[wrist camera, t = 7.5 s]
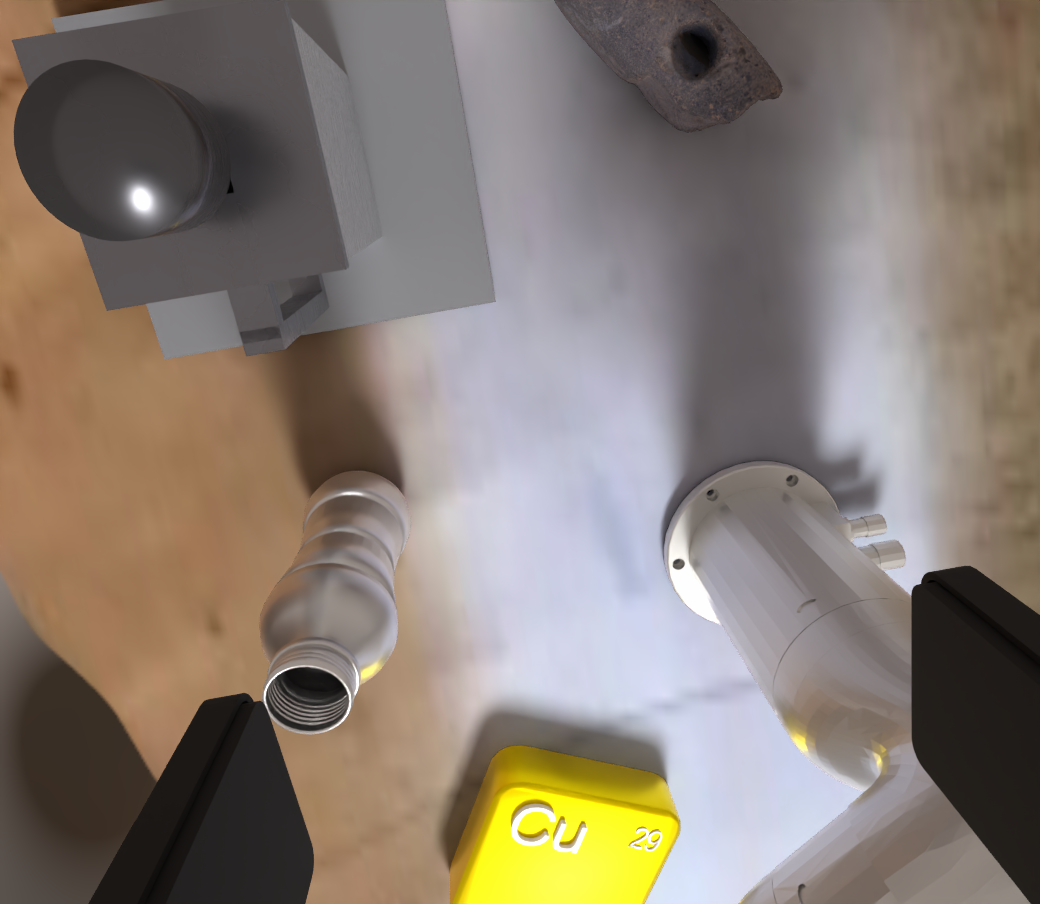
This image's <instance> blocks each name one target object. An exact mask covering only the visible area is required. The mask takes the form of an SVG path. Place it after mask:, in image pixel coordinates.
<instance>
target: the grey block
mask: <svg viewBox="0 0 1040 904" xmlns="http://www.w3.org/2000/svg"><path fill="white" fill-rule="evenodd" d="M12 42H13V45H14V48H15V51H16V54H17V57H18V60H19V62H20V65H21V68H22V71H23V74H24V77H25V79H26V82H27V85H28V88H29V86H30V85H31V84H32V83H33V81H34V80H35V79H37V78H38V77H39V76H40V75H41V74H42V73H44V72H45V71H47V70H49V69H50V68H52V67H54V66H57V65H59V64H62V63H65V62H69V61H73V60H83V59H89V60H100V61H106V62H110V63H113V64H116V65H120V66H122V67H125V68H128V69H131V70H134V71H136V72H139V73H142V74H145V75H147V76H150V77H153V78H156V79H158V80H161V81H164V82H167V83H169V84H172V85H174V86H177V87H179V88H181V89H183V90H184V91H186V92H188V93H189V94H191V95H192V96H193V97H195V98H196V99H197V100H198V101H200V102H201V103H202V104H203V105H204V106H205V107H206V108H207V109H208V111H209V112H210V113H211V114H212V116H213V117H214V118H215V120H216V121H217V123H218V125H219V126H220V128H221V130H222V132H223V134H224V136H225V139H226V142H227V145H228V149H229V153H230V160H231V181H230V183H229V188H228V191H227V194H226V196H225V198H224V201H223V203H222V204H221V206H220V207H219V209H218V210H217V211H216V212H215V213H214V215H213V216H212V217H211V218H209V219H208V220H207V221H206V222H204V223H203V224H201V225H199V226H198V227H196V228H193V229H191V230H188V231H184V232H180V233H174V234H168V235H162V236H156V237H150V238H144V239H138V240H131V241H108V240H101V239H97V238H94V237H90V236H87V235H85V234H82V233H80V232H79V233H80V236H81V238H82V241H83V244H84V247H85V250H86V253H87V256H88V258H89V261H90V264H91V267H92V270H93V273H94V275H95V278H96V281H97V284H98V287H99V290H100V292H101V295H102V298H103V301H104V304H105V307H106V309H107V311H108V310H114V309H120V308H125V307H131V306H137V305H143V304H149V303H154V302H160V301H166V300H172V299H178V298H183V297H189V296H195V295H201V294H207V293H212V292H218V291H224V290H227V292H228V296H229V299H230V302H231V306H232V309H233V313H234V316H235V319H236V323H237V326H238V330H239V333H240V337H241V340H242V343H243V347H244V350H245V354H246V356H251V355H257V354H262V353H268V352H274V351H279V350H285V349H286V348H287V347H288V346H289V345H290V344H291V343H292V342H294V341H295V340H296V339H297V338H298V337H299V336H300V335H301V334H302V333H303V332H304V331H305V330H306V329H307V328H308V327H309V326H310V325H311V324H312V323H313V322H315V321H316V320H317V319H318V318H319V317H320V316H321V315H322V314H323V313H324V312H325V311H326V310H327V309H328V308H329V307H330V306H329V302H328V298H327V294H326V290H325V286H324V282H323V278H322V274H323V273H328V272H334V271H340V270H346V269H348V268H349V267H350V266H349V262H348V259H349V258H351V257H352V256H354V255H355V254H357V253H358V252H360V251H361V250H363V249H364V248H366V247H367V246H369V245H370V244H372V243H373V242H375V241H376V240H378V239H379V238H381V237H382V231H381V226H380V222H379V217H378V212H377V208H376V203H375V198H374V194H373V189H372V185H371V180H370V175H369V171H368V166H367V161H366V157H365V152H364V148H363V143H362V138H361V134H360V129H359V124H358V120H357V115H356V110H355V106H354V101H353V97H352V92H351V87H350V83H349V78H348V76H347V74H346V73H345V72H344V71H343V70H342V69H341V68H340V67H339V66H338V65H337V64H336V63H335V62H334V61H333V60H332V59H331V58H330V57H329V56H328V55H327V54H326V53H325V52H324V51H323V50H322V49H321V48H320V47H319V46H318V45H317V44H316V43H315V41H314V40H313V39H312V38H311V37H310V36H309V35H308V34H307V33H306V32H305V31H304V30H303V29H302V28H301V27H300V26H299V25H298V24H297V23H296V22H295V21H294V20H293V19H292V18H291V14H290V10H289V6H288V2H287V0H253V1H247V2H241V3H235V4H229V5H223V6H217V7H211V8H205V9H198V10H192V11H186V12H180V13H174V14H168V15H162V16H156V17H150V18H144V19H137V20H131V21H125V22H119V23H113V24H107V25H101V26H95V27H89V28H82V29H76V30H70V31H64V32H58V33H52V34H46V35H40V36H34V37H28V38H21V39H15V40H12ZM282 280H289V284H290V288H291V292H292V295H293V297H291V298H290V299H288V300H287V301H285V302H284V303H282V304H281V305H279V302H278V298H277V294H276V290H275V287H274V283H273V282H276V281H282Z"/></svg>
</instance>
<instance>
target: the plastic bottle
mask: <svg viewBox="0 0 1040 904" xmlns="http://www.w3.org/2000/svg"><path fill="white" fill-rule="evenodd" d="M410 530H411V517H410V513H409V510H408V506H407V503H406V500H405V498H404V496H403V494H402V493H401V491H400V490H399V489H398V488H397V487H396V486H395V485H394V484H393V483H392V482H390V481H389V480H388V479H386V478H384V477H382V476H380V475H378V474H375V473H372V472H367V471H348V472H343V473H340V474H337V475H335V476H333V477H331V478H330V479H328V480H327V481H325V482H324V483H323V484H322V485H321V486H320V487H319V488H318V489H317V490H316V491H315V492H314V493H313V494H312V496H311V497H310V499H309V501H308V503H307V505H306V508H305V513H304V521H303V538H302V543H301V548H300V550H299V552H298V554H297V556H296V558H295V560H294V561H293V563H292V565H291V567H290V568H289V569H288V571H287V572H286V573H285V574H284V576H283V577H282V578H281V580H280V581H279V582H278V583H277V585H276V586H275V587H274V589H273V590H272V592H271V593H270V595H269V597H268V598H267V600H266V602H265V603H264V606H263V609H262V611H261V614H260V623H259V629H260V638H261V645H262V649H263V651H264V654H265V656H266V658H267V660H268V661H269V663H270V666H269V669H268V675H267V680H266V682H265V685H264V687H263V695H262V700H263V703H264V704H265V706H266V708H267V710H268V713H269V716H270V718H271V719H272V720H273V721H274V722H275V723H276V724H278V725H279V726H281V727H282V728H284V729H286V730H289V731H291V732H295V733H299V734H318V733H323V732H326V731H329V730H332V729H333V728H335V727H337V726H338V725H340V724H341V723H342V722H343V721H344V720H345V719H346V717H347V716H348V714H349V712H350V710H351V708H352V705H353V701H354V697H355V696H356V694H357V691H358V689H359V685H361V684H363V683H365V682H366V681H368V680H369V679H371V678H372V677H373V676H375V675H376V674H377V673H378V672H379V671H380V670H381V668H382V667H383V665H384V664H385V663H386V661H387V660H388V658H389V657H390V655H391V654H392V652H393V650H394V647H395V645H396V641H397V635H398V617H397V609H396V602H395V595H394V571H395V568H396V564H397V561H398V558H399V556H400V555H401V553H402V552H403V550H404V547H405V545H406V542H407V540H408V538H409V535H410Z"/></svg>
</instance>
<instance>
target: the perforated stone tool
mask: <svg viewBox="0 0 1040 904" xmlns="http://www.w3.org/2000/svg"><path fill="white" fill-rule="evenodd" d="M554 1H555V2H556V4H557V6H558V7H559V9H560V10H561V12H562V13H563V14H564V16H565V17H566V19H567V20H568V21H569V22H570V24H571V25H572V26H573V27H574V29H575V30H576V31H577V32H578V33H579V34H580V36H581V37H582V38H583V39H584V40H585V41H586V42H587V44H588V45H589V46H590V47H591V48H592V49H593V50H594V51H595V52H596V53H597V54H598V55H599V56H600V58H601V59H602V60H603V61H604V62H605V63H606V64H607V65H608V66H609V67H610V68H611V69H612V70H613V71H614V72H615V73H616V74H617V75H618V76H619V77H620V78H622V79H624V80H625V81H627V82H628V83H634V84H635V85H636V86H637V87H638V88H639V89H640V90H641V92H642V94H643V95H644V97H645V98H646V99H647V101H648V102H649V103H650V105H651V106H652V107H653V108H654V109H655V110H656V111H657V112H658V113H659V114H660V115H662V116H663V117H664V118H665V119H666V120H667V121H668V122H669V123H671V124H672V125H673V126H674V127H675V128H676V129H678V130H682V131H685V132H693V131H696V130H699V131H701V130H702V129H704V128H706V127H710V126H713V125H716V124H719V123H721V124H727V123H730V122H731V121H733V120H735V119H737V118H738V117H739V116H741V115H742V114H743V113H744V112H745V111H746V110H747V109H748V108H749V107H750V106H751V105H753V104H754V103H756V102H757V101H758V100H762V101H763V100H766V99H776V98H778V97H779V96H780V94H781V93H782V90H783V89H782V85H781V82H780V80H779V79H778V77H777V76H776V75H775V73H774V72H773V70H772V69H771V67H770V66H769V65H768V63H767V62H766V61H765V60H764V58H763V57H762V56H761V55H760V53H759V52H758V51H757V49H756V48H755V47H754V46H753V44H752V43H751V42H750V41H749V40H748V39H747V38H746V37H745V35H744V34H743V33H742V32H741V31H740V30H739V29H738V27H737V26H736V25H735V24H734V23H733V22H732V21H731V20H730V19H729V18H728V17H727V16H726V15H725V14H724V13H723V12H722V11H721V10H720V9H719V8H718V7H717V6H716V5H715V4H714V3H713V2H712V1H711V0H554Z"/></svg>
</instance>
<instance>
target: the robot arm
mask: <svg viewBox="0 0 1040 904" xmlns="http://www.w3.org/2000/svg"><path fill="white" fill-rule="evenodd" d="M788 476H789V478H788ZM711 489H712V490H711ZM709 490H711V492H710V493H707V492H708V491H709ZM886 530H887V526H886V522H885V519H884V517H883V516H882V515H880V514H875V515H870V516H864V517H861V518H859V519H853V520H848V519H847V518H846V517H842V516H841V515H840V513H839V510H838V508H837V505H836V503H835V501H834V499H833V498H832V497H831V495H830V494H829V492H828V491H827V490H826V488H824V487H823V486H822V485H821V484H820V483H819V482H818V481H817V480H816V479H814V478H813V477H811V476H810V475H808V474H807V473H806V472H804V471H803V470H800V469H798V468H795V467H793V466H791V465H788V464H783V463H778V462H773V461H754V462H748V463H743V464H737V465H735V466H732V467H729V468H727V469H724V470H721V471H719V472H718V473H716V474H714V475H712V476H711V477H709V478H707V479H705V480H704V481H703V482H702V483H700V484H699V485H698V486H697V487H696V488H694V489H693V490H692V491H691V492H690V493H689V494H688V496H687V497H686V498H685V499H684V500H683V501H682V502H681V504H680V505H679V507H678V509H677V510H676V512H675V514H674V515H673V517H672V519H671V522H670V524H669V527H668V530H667V533H666V538H665V544H664V564H665V568H666V571H667V575H668V578H669V580H670V582H671V584H672V586H673V588H674V590H675V592H676V593H677V595H678V596H679V598H680V599H681V600H682V602H683V603H684V604H685V605H686V606H687V607H688V608H689V609H691V610H692V611H693V612H694V613H696V614H697V615H699V616H701V617H702V618H704V619H706V620H708V621H711V622H714V623H716V624H720V625H722V627H723V629H724V630H725V632H726V633H727V635H728V637H729V638H730V640H731V642H732V643H733V645H734V647H735V648H736V650H737V652H738V653H739V655H740V657H741V658H742V660H743V662H744V663H745V665H746V666H747V668H748V670H749V671H750V673H751V675H752V676H753V678H754V680H755V681H756V683H757V685H758V686H759V688H760V690H761V691H762V693H763V695H764V696H765V698H766V699H767V701H768V703H769V704H770V706H771V708H772V709H773V711H774V713H775V714H776V716H777V718H778V719H779V721H780V723H781V724H782V726H783V727H784V729H785V731H786V732H787V734H788V735H789V737H790V739H791V740H792V742H793V743H794V744H795V746H796V747H797V748H798V750H799V751H800V752H801V753H802V754H803V755H804V756H805V757H806V758H807V759H808V760H809V761H810V762H811V763H812V764H813V765H815V766H816V767H817V768H819V769H820V770H822V771H823V772H824V773H826V774H827V775H829V776H830V777H832V778H834V779H835V780H837V781H839V782H841V783H843V784H846V785H848V786H850V787H852V788H854V789H857V790H859V791H862V792H864V793H862V794H861V795H860V796H859V797H858V798H857V799H856V800H855V801H853V802H852V803H851V804H850V805H849V806H848V808H847V809H846V810H845V811H844V812H843V813H841V814H840V815H839V816H838V817H836V818H835V819H834V820H833V821H832V822H830V823H829V824H828V825H827V826H825V827H824V828H823V829H822V830H821V831H819V832H818V833H817V834H816V835H814V836H813V837H812V838H811V839H810V840H808V841H807V842H806V843H805V844H803V845H802V846H801V847H800V848H799V849H797V850H796V851H795V852H794V853H792V854H791V855H790V856H789V857H788V858H786V859H785V860H784V861H783V862H781V863H780V864H779V865H778V866H777V867H775V869H774V870H773V871H771V872H770V873H769V874H768V875H767V876H765V877H764V878H763V879H762V880H761V881H760V882H758V883H757V884H756V885H755V886H754V887H753V888H752V889H751V890H750V891H749V892H748V893H747V894H746V895H745V896H744V898H743V899H742V900H741V901H740V902H739V904H1040V615H1039V614H1037V613H1036V612H1035V611H1033V610H1032V609H1031V608H1029V607H1028V606H1026V605H1025V604H1024V603H1022V602H1021V601H1019V600H1018V599H1017V598H1015V597H1014V596H1013V595H1011V594H1010V593H1008V592H1007V591H1006V590H1004V589H1003V588H1002V587H1000V586H999V585H997V584H996V583H995V582H993V581H992V580H991V579H989V578H988V577H986V576H985V575H984V574H982V573H981V572H979V571H978V570H977V569H975V568H973V567H971V566H961V567H956V568H950V569H944V570H939V571H933V572H928V573H926V574H925V575H924V576H923V578H922V581H921V584H919V585H916V586H914V588H913V590H912V596H910V595H909V594H908V593H907V592H906V591H905V590H904V589H903V588H902V587H900V586H899V585H898V584H897V583H896V582H895V581H894V580H893V579H891V578H890V577H889V576H888V575H887V574H886V573H885V572H884V570H890V569H895V568H901V567H903V566H904V565H905V562H906V557H905V552H904V549H903V547H902V545H901V544H900V543H899V541H897V540H890V541H884V542H879V543H873V544H869V545H868V546H864V547H859V548H857V547H856V546H855V545H854V544H853V543H852V542H853V539H854V538H859V537H870V536H876V535H881V534H885V533H886ZM676 559H677V560H676ZM675 560H676V561H675ZM313 867H314V854H313V847H312V843H311V840H310V837H309V834H308V831H307V828H306V825H305V822H304V819H303V816H302V813H301V810H300V807H299V804H298V801H297V798H296V795H295V792H294V789H293V786H292V783H291V780H290V777H289V774H288V771H287V768H286V765H285V762H284V759H283V755H282V752H281V749H280V746H279V743H278V740H277V737H276V734H275V731H274V728H273V725H272V722H271V719H270V716H269V713H268V710H267V708H266V706H265V704H264V703H263V702H262V701H256V702H253V699H252V698H251V697H250V695H249V694H246V693H242V694H236V695H231V696H225V697H219V698H214V699H208V700H206V701H204V702H203V703H202V704H201V706H200V707H199V709H198V711H197V712H196V714H195V716H194V718H193V720H192V721H191V723H190V725H189V727H188V729H187V730H186V732H185V734H184V736H183V737H182V739H181V741H180V743H179V745H178V746H177V748H176V750H175V752H174V753H173V755H172V757H171V759H170V761H169V762H168V764H167V766H166V768H165V770H164V771H163V773H162V775H161V777H160V778H159V780H158V782H157V784H156V786H155V788H154V789H153V791H152V793H151V795H150V796H149V798H148V800H147V802H146V803H145V805H144V807H143V809H142V811H141V813H140V814H139V816H138V818H137V820H136V821H135V822H134V824H133V825H132V827H131V829H130V831H129V833H128V834H127V836H126V838H125V840H124V841H123V843H122V845H121V847H120V849H119V850H118V852H117V854H116V856H115V858H114V860H113V861H112V863H111V865H110V866H109V868H108V870H107V872H106V874H105V875H104V877H103V879H102V881H101V882H100V884H99V886H98V888H97V890H96V891H95V893H94V895H93V897H92V898H91V900H90V902H89V904H305V903H306V899H307V895H308V891H309V887H310V883H311V879H312V874H313Z"/></svg>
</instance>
